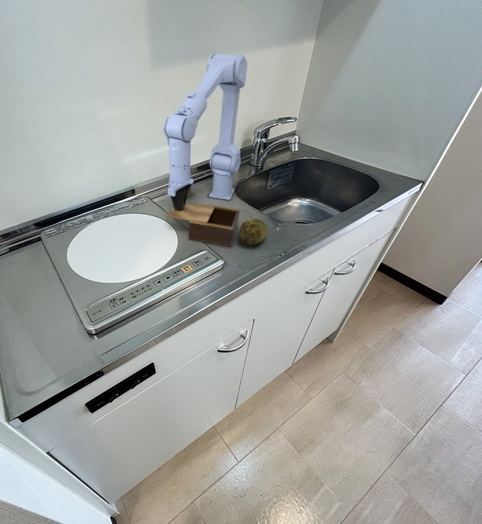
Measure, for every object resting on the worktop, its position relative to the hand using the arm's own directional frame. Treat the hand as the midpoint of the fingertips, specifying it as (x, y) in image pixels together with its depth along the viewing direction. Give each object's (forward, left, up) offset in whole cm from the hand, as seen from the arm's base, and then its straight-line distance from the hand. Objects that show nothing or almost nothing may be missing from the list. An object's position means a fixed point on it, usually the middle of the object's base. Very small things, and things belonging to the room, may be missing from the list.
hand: (179, 207), depth 85 cm
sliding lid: (0, +4, -1) cm, 4 cm away
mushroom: (-22, -6, -7) cm, 24 cm away
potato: (0, +23, -7) cm, 24 cm away
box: (0, +11, -7) cm, 13 cm away
